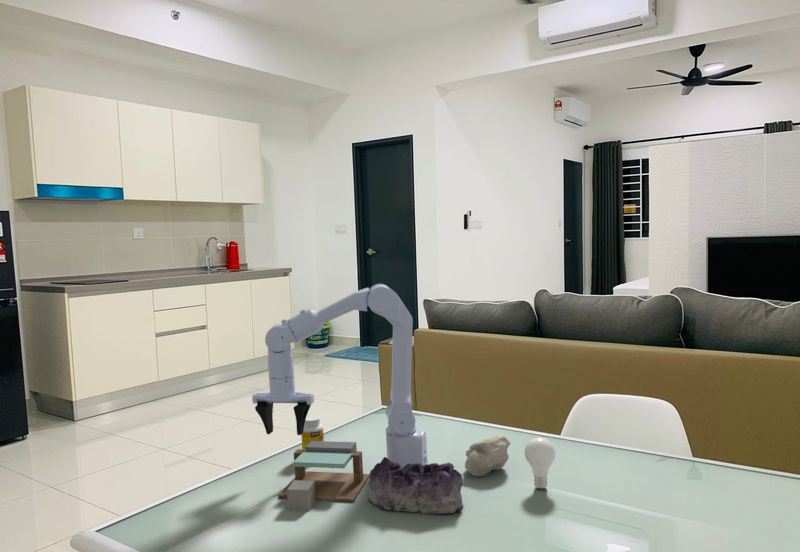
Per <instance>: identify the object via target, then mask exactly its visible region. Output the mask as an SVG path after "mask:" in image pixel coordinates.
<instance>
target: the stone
mask: <svg viewBox="0 0 800 552" xmlns="http://www.w3.org/2000/svg"><path fill="white" fill-rule="evenodd" d="M287 497H288V499H287V509H288V511H299V512H301V511H303V512H304V511H305V512H310V510H311V509H312V507H313V506H314V504H315V502H316V501H317V500H316V499H315V481H307V480H294V481H293V482H292V484H291V485H290V486H289V488H288V489H287Z"/></svg>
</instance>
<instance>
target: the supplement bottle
mask: <svg viewBox="0 0 800 552" xmlns="http://www.w3.org/2000/svg"><path fill="white" fill-rule="evenodd" d="M300 436H301V449H304V452H306V450H305V447H306V446H307V445H308V444H309V443H310V442H311V441H325V438H324V437H325V436H324V425H323V424H322V423H321V418H320V416H318V415H310V416H306V420H305V424H304V431H303V433H302V434H301V435H300Z"/></svg>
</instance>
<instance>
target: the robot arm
mask: <svg viewBox="0 0 800 552" xmlns="http://www.w3.org/2000/svg"><path fill="white" fill-rule="evenodd" d="M368 307H369V309H370V311H372V312H373V313H375V314H376V315H379V316H381V317H383V318H385V320H386V321H388V323H390V324H391V325H392V346H391V347H392V348H391V349H392V350H391V379H390V380H391V383H390V384H391V387H390V389H391V390H390V397H389V402H388V404H387V406H386V408H385V415H386V418H387V420H388V421H387V424H388V426H387V427H385V439H386V440H385V442H386V458H388V459H389V460H390V461H391V462H398V463H399V464H400V465H401V467H404V466H406V465H407V464H408V463H409V464H416V463H417V464H419V463H420V464H422V465H426V464H428V462H429V460H428V451H427V449H428V448H427V447H428V445H427V444H428V443H427V435H426V434H427V433H426V431H422V430H418V429H417V427H416V418H415V415H414V413H413V408H412V407H413V406H412V404H413V403H412V402H413V401H412V393H411V392H412V391H411V389H412V360H413V359H412V357H413V355H412V354H413V328H414V327H413V323H414V320H413V316H412V314H411V313H410V311H409V310H408V308H407V307H406V305H405V304H404V303H403V301H402V299H401V298H400V296H399V295H398V293H397V292H396V291H395V290H393V289H392V288H391V287H389V286H388V285H386V284H384V283H377V284H374V285H372V286H371V287H370V288H369V287H365V288H362V289H359V290H357V291H355V292H352V293H351V294H349V295H347V296H345V297H342V298H340V299H339V300H337V301H335V302H333V303H331V304H329V305H328V306H327V305H326V307H324V308H322V309H320V310H316V309H315V310H314V309H312V308H309V309H307V310H306V308H303V309H301V310H300V311H299V313H298V314H296V315H295V316H293V317H291V318H288V319H286V318H283V319H281V321H280V323H277V324H274V325H273V326H271V327H270V329H268V331H267V332H266V334H265V339H264V341H265V342H264V343H265V346H266V347H267V354H268V358H267V366H268V381H269V382H268V383H269V392H261V393H260V392H259V393H254V394H252V395H251V397H252V399H251V400H252V404H256V406H255V407H254V409H255V412H256V413H257V414H258V416H259V417H260V419H261V422H262V423H263V427H264V428H265V433H266V435H270V434H272V433H273V432H274V420H273V418H274V417H273V412H274V404H296V405H295V406H293V411H294V416H295V423H296V435H297V436H302V435H301V434H302V433H303V431H304V424H305V420H306V417H308V412H309V410H310V409H311V406H312V404H314V403H315V398H314V393H305V392H298V391H296V389H295V387H296V386H295V372H294V371H295V369H294V355H293V353H292V352H293V351H292V349H293V348H292V343H293V344H294V343H296V344H297V343H299V342H301V341H303V340H305V339H307V338H310V337H311V336H314V335H315V334H317V333H320V332H321V331H322V329H323V326H324V324H326V323H328V322H331V321H332V320H334V319H337V318H340V317H341V316H343V315H346V314H348V313H351V312H353V311H362V312H368Z"/></svg>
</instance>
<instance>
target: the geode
mask: <svg viewBox="0 0 800 552" xmlns="http://www.w3.org/2000/svg"><path fill="white" fill-rule="evenodd" d="M369 474H370V475H369V481H368V484H369V485H368V493H369V495H368V503H369V504H370V505H371V506H373V507H375V508H377V509H380V510H381V511H396V512H408V513H409V512H410V513H415V514H416V513H421V514H423V515H426V514H433V515H434V514H438V515H439V514H441V515H442V514H454V513H458V512H462V510H463V509H464V504H463V500H462V498H463V496H462V493H461V491H462V487H463V486H464V480H463V476H462V474H461V473H460V472H459V471H458V470H457V469H455V465H454V464H453V463H451V462H445V463H441V464H438V463H437V462H436V463H434V462H433V463H430V464H428V463H427V464H426V465H422V464H420V463H419V464H417V463H416V464H409V463H408V464H407V465H406V466H404V467H401V465H400V464H399V463H398V462H391V461H390V460H389V459H388V458H387V456H384V457H383V458H382V460H381V461H380V462H377V463H376V464H375V465H374V467H373V468H372V469H371V470H370V472H369Z"/></svg>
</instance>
